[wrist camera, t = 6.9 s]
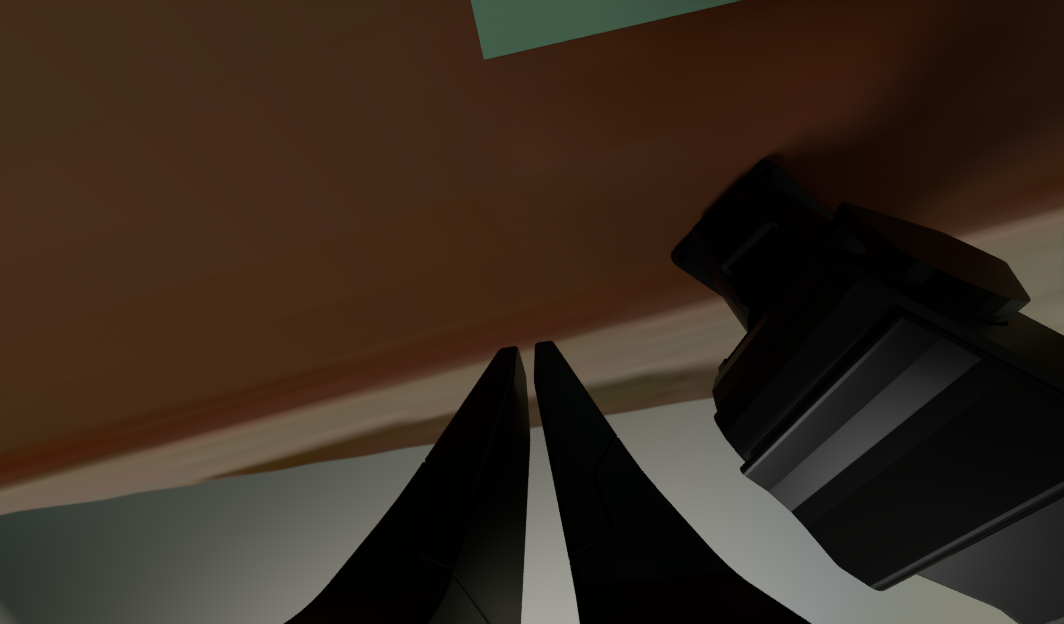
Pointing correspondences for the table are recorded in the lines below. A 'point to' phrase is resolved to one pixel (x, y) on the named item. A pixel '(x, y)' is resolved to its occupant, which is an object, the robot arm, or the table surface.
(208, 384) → the table surface
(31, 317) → the table surface
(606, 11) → the circuit board
